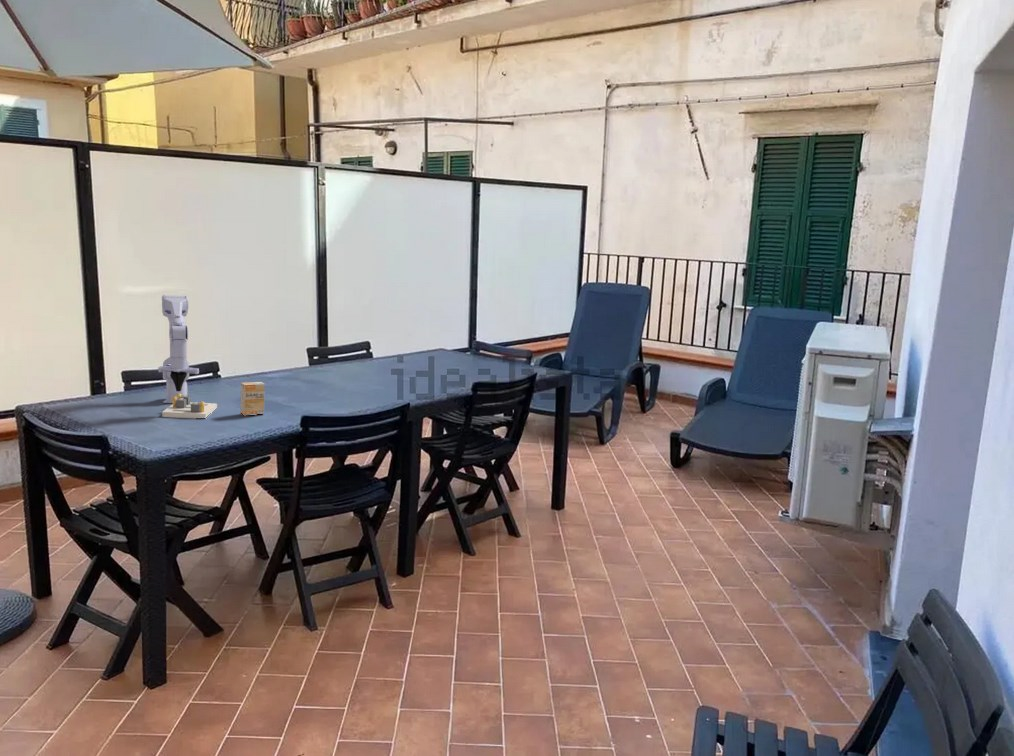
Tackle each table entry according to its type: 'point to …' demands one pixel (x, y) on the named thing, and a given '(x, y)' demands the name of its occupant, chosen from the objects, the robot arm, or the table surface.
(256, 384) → the supplement box
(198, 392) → the table surface
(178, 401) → the middle knob
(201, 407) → the switch panel
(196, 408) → the front knob
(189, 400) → the rear knob
